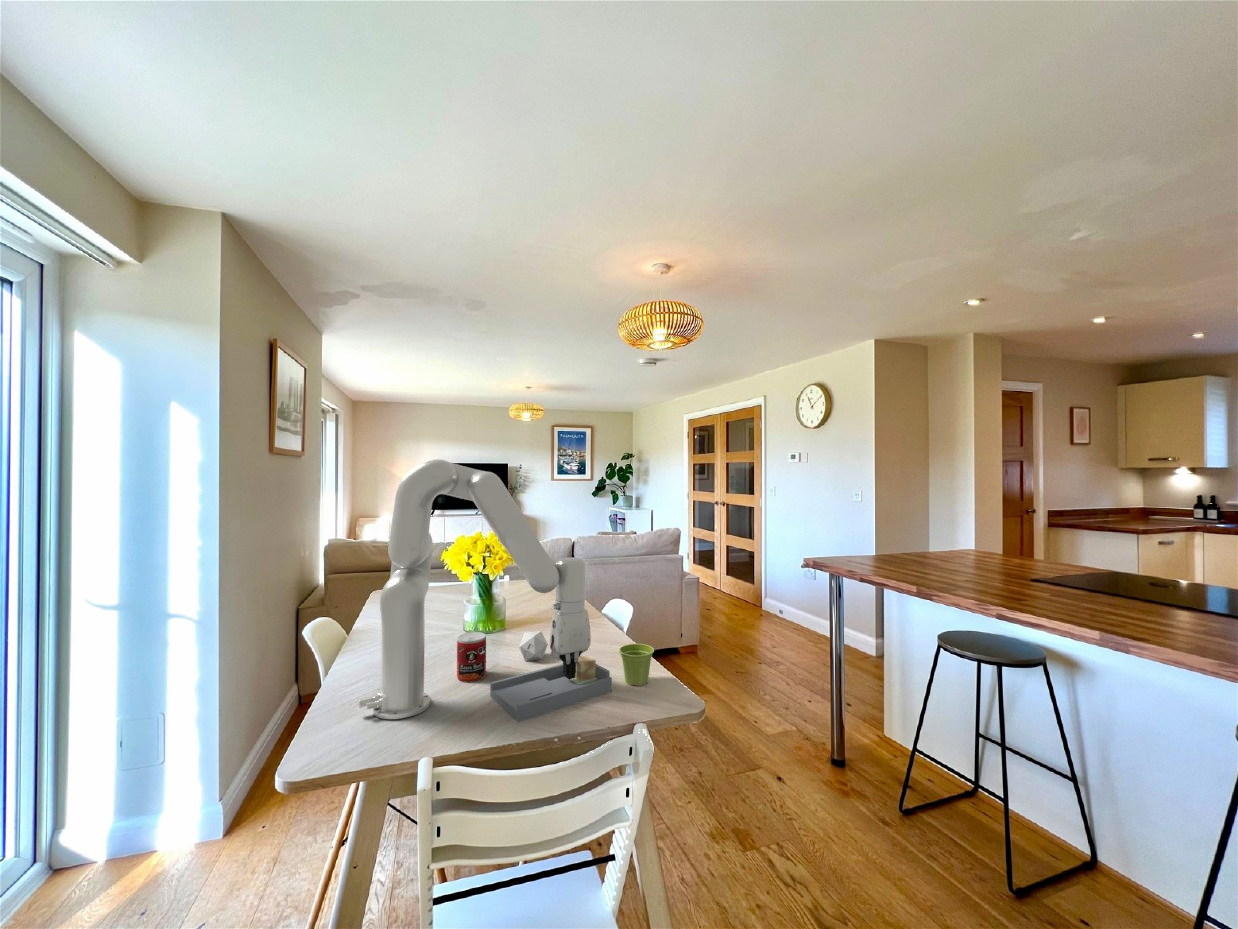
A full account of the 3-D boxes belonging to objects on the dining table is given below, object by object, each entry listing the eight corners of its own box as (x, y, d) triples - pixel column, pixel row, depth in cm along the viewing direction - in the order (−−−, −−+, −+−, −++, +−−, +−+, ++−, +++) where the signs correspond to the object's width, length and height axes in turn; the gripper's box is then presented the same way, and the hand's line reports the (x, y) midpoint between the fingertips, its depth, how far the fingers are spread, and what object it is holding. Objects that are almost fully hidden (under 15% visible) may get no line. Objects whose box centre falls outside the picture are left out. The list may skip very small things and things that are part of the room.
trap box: (519, 721, 113) (519, 699, 113) (490, 696, 125) (490, 676, 126) (611, 691, 129) (611, 672, 129) (577, 672, 141) (577, 654, 141)
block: (581, 681, 130) (581, 664, 130) (571, 676, 133) (572, 659, 134) (595, 677, 133) (595, 660, 133) (586, 672, 136) (586, 655, 136)
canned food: (456, 684, 133) (456, 642, 133) (457, 672, 141) (457, 633, 141) (486, 681, 135) (486, 639, 135) (485, 669, 143) (486, 631, 143)
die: (513, 660, 152) (514, 640, 147) (528, 639, 159) (530, 619, 153) (536, 672, 150) (538, 653, 145) (551, 650, 157) (553, 631, 151)
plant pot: (632, 692, 128) (632, 658, 129) (612, 679, 136) (612, 647, 136) (661, 684, 133) (661, 651, 134) (640, 672, 141) (640, 641, 142)
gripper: (552, 613, 123) (551, 689, 123) (602, 604, 132) (601, 675, 132) (537, 607, 129) (536, 679, 129) (586, 599, 138) (585, 666, 138)
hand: (569, 677), depth 130 cm, fingers closed
